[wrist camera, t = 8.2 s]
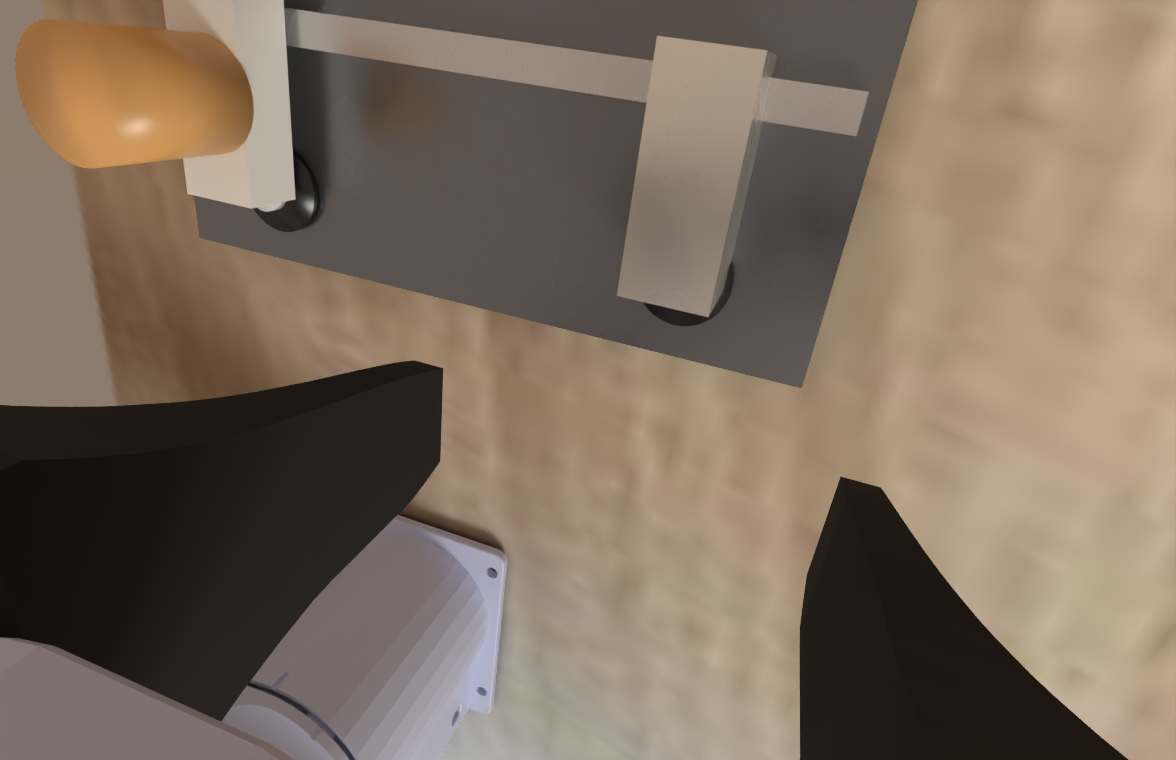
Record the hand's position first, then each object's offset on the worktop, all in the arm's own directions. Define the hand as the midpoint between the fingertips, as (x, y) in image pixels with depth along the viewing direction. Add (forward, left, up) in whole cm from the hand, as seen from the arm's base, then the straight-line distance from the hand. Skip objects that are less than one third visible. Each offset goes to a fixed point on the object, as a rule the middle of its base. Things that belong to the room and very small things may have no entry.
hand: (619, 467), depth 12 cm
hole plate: (+4, +8, -10) cm, 14 cm away
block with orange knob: (+4, +15, -9) cm, 18 cm away
